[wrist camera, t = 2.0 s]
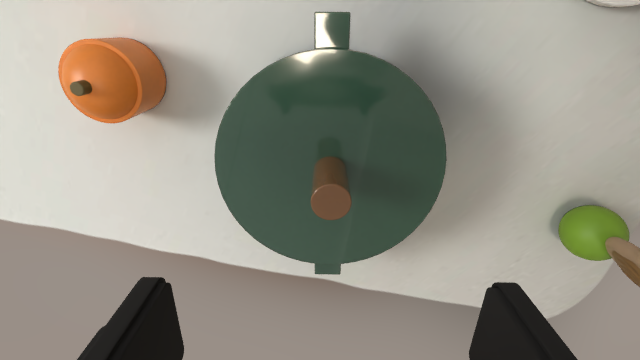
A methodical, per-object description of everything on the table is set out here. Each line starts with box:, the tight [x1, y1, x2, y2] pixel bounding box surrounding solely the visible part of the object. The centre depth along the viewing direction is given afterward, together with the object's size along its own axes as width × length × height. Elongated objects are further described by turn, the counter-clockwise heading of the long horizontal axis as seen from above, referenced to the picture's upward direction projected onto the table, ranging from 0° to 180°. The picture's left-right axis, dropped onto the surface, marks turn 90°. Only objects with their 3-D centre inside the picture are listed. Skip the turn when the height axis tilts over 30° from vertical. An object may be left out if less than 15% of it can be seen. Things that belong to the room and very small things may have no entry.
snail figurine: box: [558, 205, 640, 287], centre depth 30 cm, size 5×6×12 cm
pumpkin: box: [59, 38, 166, 123], centre depth 27 cm, size 6×6×7 cm
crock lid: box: [215, 48, 446, 264], centre depth 24 cm, size 18×18×6 cm
